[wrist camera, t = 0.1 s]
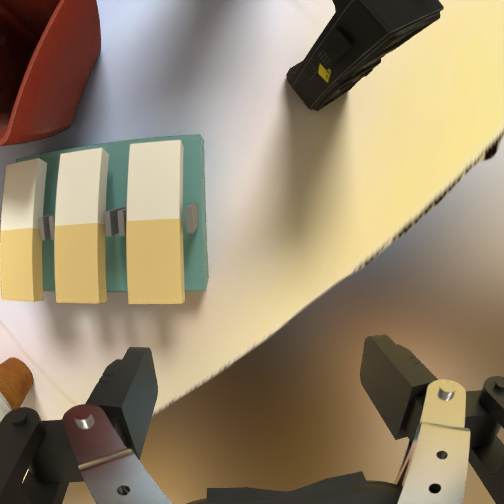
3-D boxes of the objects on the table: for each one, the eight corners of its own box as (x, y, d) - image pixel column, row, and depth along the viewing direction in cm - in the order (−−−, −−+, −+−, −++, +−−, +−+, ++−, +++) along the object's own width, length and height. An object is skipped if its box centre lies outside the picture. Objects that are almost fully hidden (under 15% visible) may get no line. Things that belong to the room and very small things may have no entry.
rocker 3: (135, 151, 30) (130, 144, 28) (183, 147, 30) (180, 139, 28) (134, 301, 29) (128, 303, 27) (185, 301, 30) (181, 303, 28)
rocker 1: (15, 169, 29) (6, 164, 27) (47, 163, 29) (38, 157, 27) (11, 298, 28) (1, 299, 26) (43, 299, 29) (33, 301, 27)
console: (36, 160, 35) (-9, 158, 25) (203, 140, 37) (194, 126, 27) (47, 281, 39) (8, 307, 29) (208, 280, 41) (202, 311, 31)
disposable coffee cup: (5, 339, 41) (-34, 372, 29) (45, 373, 42) (13, 414, 31) (-3, 371, 42) (-35, 405, 30) (35, 402, 44) (7, 441, 32)
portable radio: (306, 118, 37) (411, 43, 13) (277, 81, 36) (340, -36, 11) (352, 88, 36) (475, 11, 12) (323, 53, 35) (418, -55, 11)
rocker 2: (68, 159, 29) (60, 153, 27) (109, 154, 30) (102, 147, 28) (65, 300, 29) (56, 302, 27) (107, 301, 29) (99, 303, 27)
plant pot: (32, 22, 30) (-27, -18, 13) (132, 26, 32) (89, -41, 16) (-10, 135, 33) (-86, 129, 17) (83, 156, 36) (5, 148, 19)
